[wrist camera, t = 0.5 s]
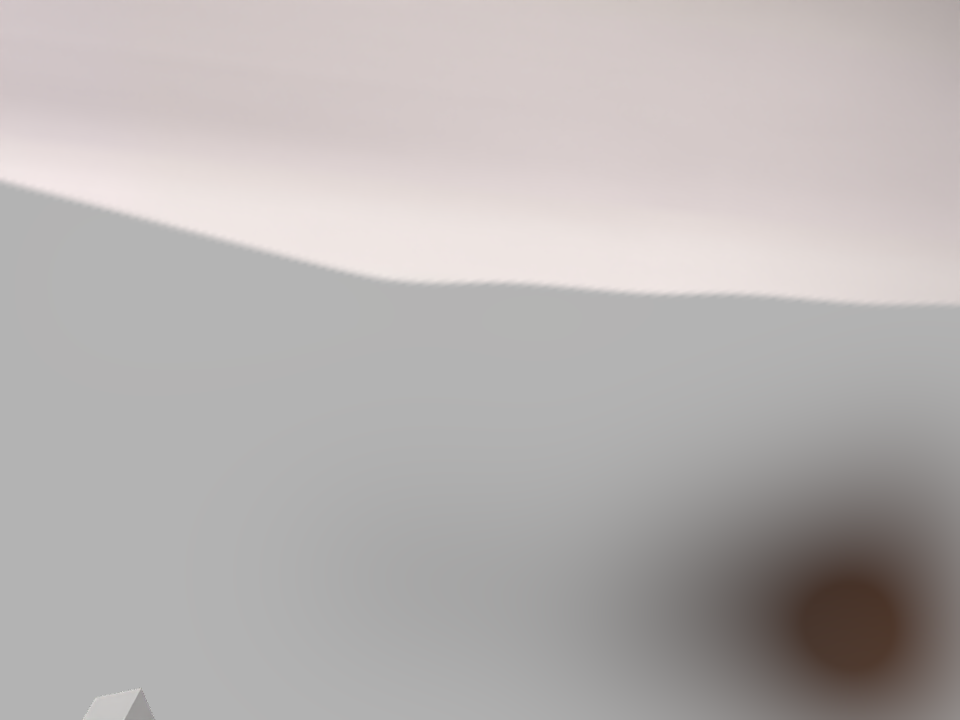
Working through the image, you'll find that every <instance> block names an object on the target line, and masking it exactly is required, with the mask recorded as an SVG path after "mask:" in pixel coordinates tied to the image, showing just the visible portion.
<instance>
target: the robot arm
mask: <svg viewBox="0 0 960 720" xmlns="http://www.w3.org/2000/svg"><path fill="white" fill-rule="evenodd" d="M82 720H155V719H154V717H153V715H152V712H151V710H150V707H149V705H148V702H147V700H146V698H145V695H144V693H143V691H142V688H139V689H134V690H129V691H124V692H119V693H114V694H109V695H104V696H99V697H96V698H95V700H94V701H93V703H92V705H91V706H90V708H89V709H88V711H87V713H86V715H85V716H84V718H83V719H82Z"/></svg>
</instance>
